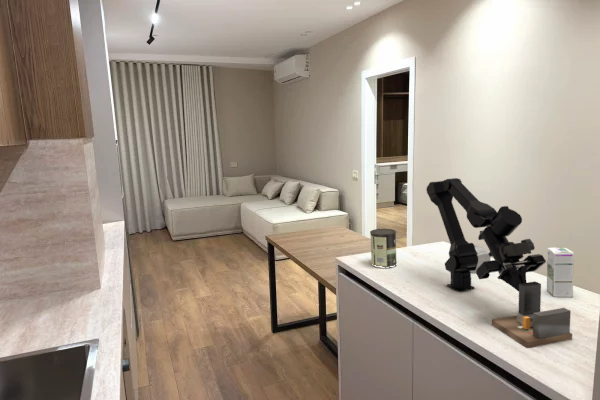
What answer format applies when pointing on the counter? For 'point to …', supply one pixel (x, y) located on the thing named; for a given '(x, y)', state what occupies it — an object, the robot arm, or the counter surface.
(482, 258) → the grey block
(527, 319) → the cylinder
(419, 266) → the counter surface
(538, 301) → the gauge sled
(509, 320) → the base
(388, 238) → the coffee can
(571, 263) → the syrup box
